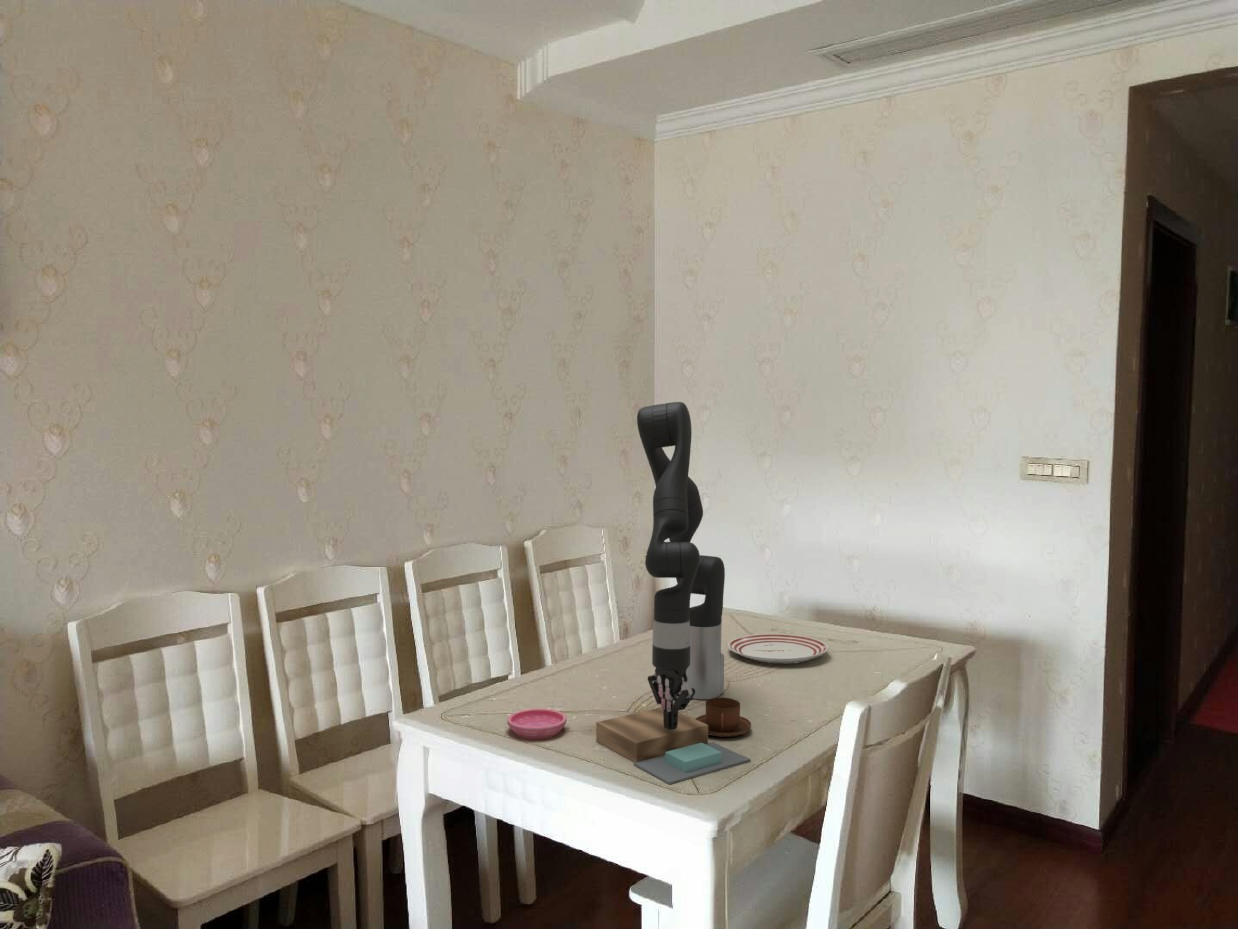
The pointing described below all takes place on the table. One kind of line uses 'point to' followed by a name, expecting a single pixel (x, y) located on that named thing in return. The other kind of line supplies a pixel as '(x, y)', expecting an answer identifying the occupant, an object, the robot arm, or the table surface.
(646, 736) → the wooden block
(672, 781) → the mat
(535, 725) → the pink round bowl
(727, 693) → the table surface
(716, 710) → the cup and saucer
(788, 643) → the dinner plate
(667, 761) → the teal rectangular block
